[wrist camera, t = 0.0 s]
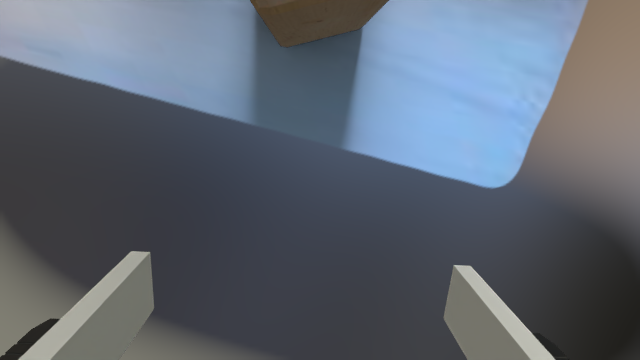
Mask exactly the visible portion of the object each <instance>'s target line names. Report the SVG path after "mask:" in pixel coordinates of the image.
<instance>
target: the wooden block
mask: <svg viewBox="0 0 640 360" xmlns="http://www.w3.org/2000/svg"><path fill="white" fill-rule="evenodd" d="M250 1H251V3H252V4H253V6H254V7H255V9H256V10H257V12H258V13H259V15H260V16H261V18H262V19H263V21H264V22H265V24H266V25H267V27H268V28H269V30H270V31H271V33H272V34H273V36H274V37H275V39H276V40H277V42H278V43H279V44H280V46H283V47H290V46H294V45H298V44H302V43H306V42H310V41H314V40H318V39H322V38H326V37H330V36H334V35H338V34H342V33H346V32H350V31H354V30H358V29H360V28H361V27H362V26H364V25H365V24H366V23H367V22H368V21H369V20H370V19H371V18H372V17H373V16H374V15H375V14H376V13H377V12H378V11H379V10H380V9H381V8H382V7H383V6H384V5H385V4H386V3H387V2H388V1H389V0H250Z"/></svg>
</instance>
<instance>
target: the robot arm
mask: <svg viewBox="0 0 640 360" xmlns="http://www.w3.org/2000/svg"><path fill="white" fill-rule="evenodd" d="M153 309H154V301H153V289H152V273H151V258H150V252H135V251H132V252H130V253H129V254H128V255H127V256H126V257H125V258H124V259H123V260H122V261H121V262H120V263H119V264H118V265H117V266H116V267H114V268H113V269H112V270H111V271H110V272H109V273H108V274H107V275H106V276H105V277H104V278H103V279H102V280H101V281H100V282H99V283H98V284H97V285H96V286H95V287H94V288H93V289H91V291H90V292H88V293H87V294H86V295H85V296H84V297H83V298H82V299H81V300H80V301H79V302H78V303H77V304H76V305H75V306H74V307H73V308H72V309H71V310H70V311H69V312H67V313H66V314H65V315H64V316H63V317H62V318H61V319H49V320H47V321H45V322H44V323H42V324H40V325H38V326H37V327H35V328H33V329H31V330H30V331H29V332H28V333H27V334H26V335H25V336H24V337H22V338H21V339H20V340H19V341H18V342H17V344H16V345H14V346H12V347H11V348H10V349H9V350H8V351H7V352H6V354H5V355H2V356H1V357H0V360H119V359H120V358H121V357H122V355H123V354H124V352H125V351H126V349H127V348H128V346H129V344H130V343H131V342H132V340H133V339H134V337H135V336H136V334H137V333H138V331H139V330H140V328H141V327H142V326H143V324H144V322H145V321H146V319H147V318H148V317H149V315H150V314H151V312H152V310H153ZM444 320H445V322H446V323H447V325H448V327H449V329H450V330H451V332H452V333H453V335H454V337H455V339H456V341H457V342H458V344H459V346H460V347H461V349H462V351H463V352H464V354H465V356H466V357H467V359H468V360H570V359H567V356H566V355H565V354H564V353H563V352H562V351H561V350H560V349H559V348H558V347H557V346H556V345H555V344H554V343H553V342H551V341H550V340H548V339H547V338H545V337H544V336H542V335H541V334H540V333H531V332H530V331H529V330H528V329H527V328H526V327H525V326H524V324H523V323H522V322H521V321H520V320H519V319H518V318H517V317H516V316H515V314H514V313H513V312H512V311H511V310H510V309H509V308H508V307H507V306H506V304H504V302H503V301H502V300H501V299H500V298H499V297H498V296H497V295H496V294H495V292H494V291H493V290H492V289H491V288H490V287H489V286H488V285H487V284H486V283H485V281H484V280H483V279H482V278H481V277H480V276H479V275H478V274H477V272H476V271H475V270H474V269H473V268H472V267H471V266H459V265H454V267H453V272H452V277H451V283H450V288H449V293H448V299H447V303H446V308H445V314H444Z"/></svg>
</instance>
